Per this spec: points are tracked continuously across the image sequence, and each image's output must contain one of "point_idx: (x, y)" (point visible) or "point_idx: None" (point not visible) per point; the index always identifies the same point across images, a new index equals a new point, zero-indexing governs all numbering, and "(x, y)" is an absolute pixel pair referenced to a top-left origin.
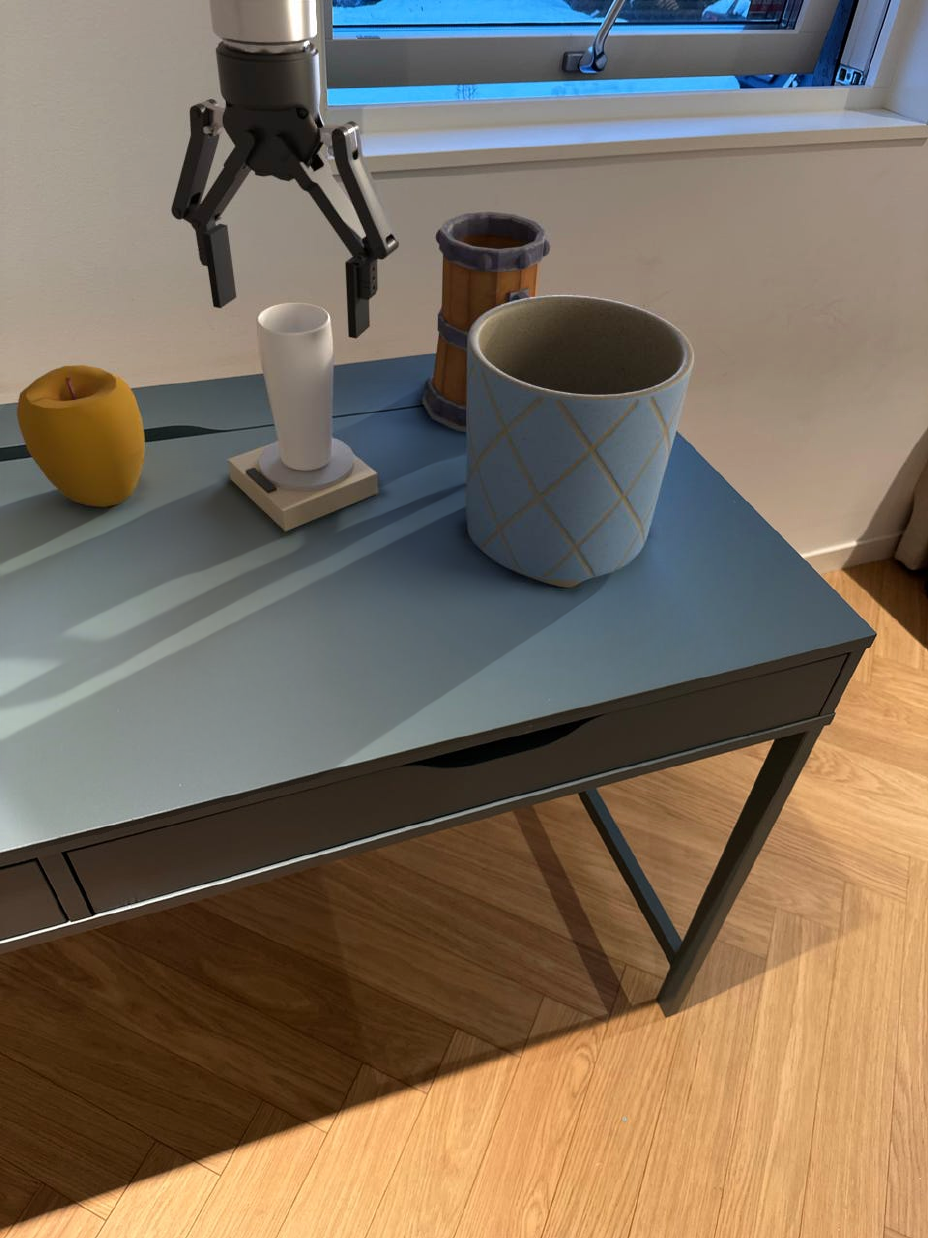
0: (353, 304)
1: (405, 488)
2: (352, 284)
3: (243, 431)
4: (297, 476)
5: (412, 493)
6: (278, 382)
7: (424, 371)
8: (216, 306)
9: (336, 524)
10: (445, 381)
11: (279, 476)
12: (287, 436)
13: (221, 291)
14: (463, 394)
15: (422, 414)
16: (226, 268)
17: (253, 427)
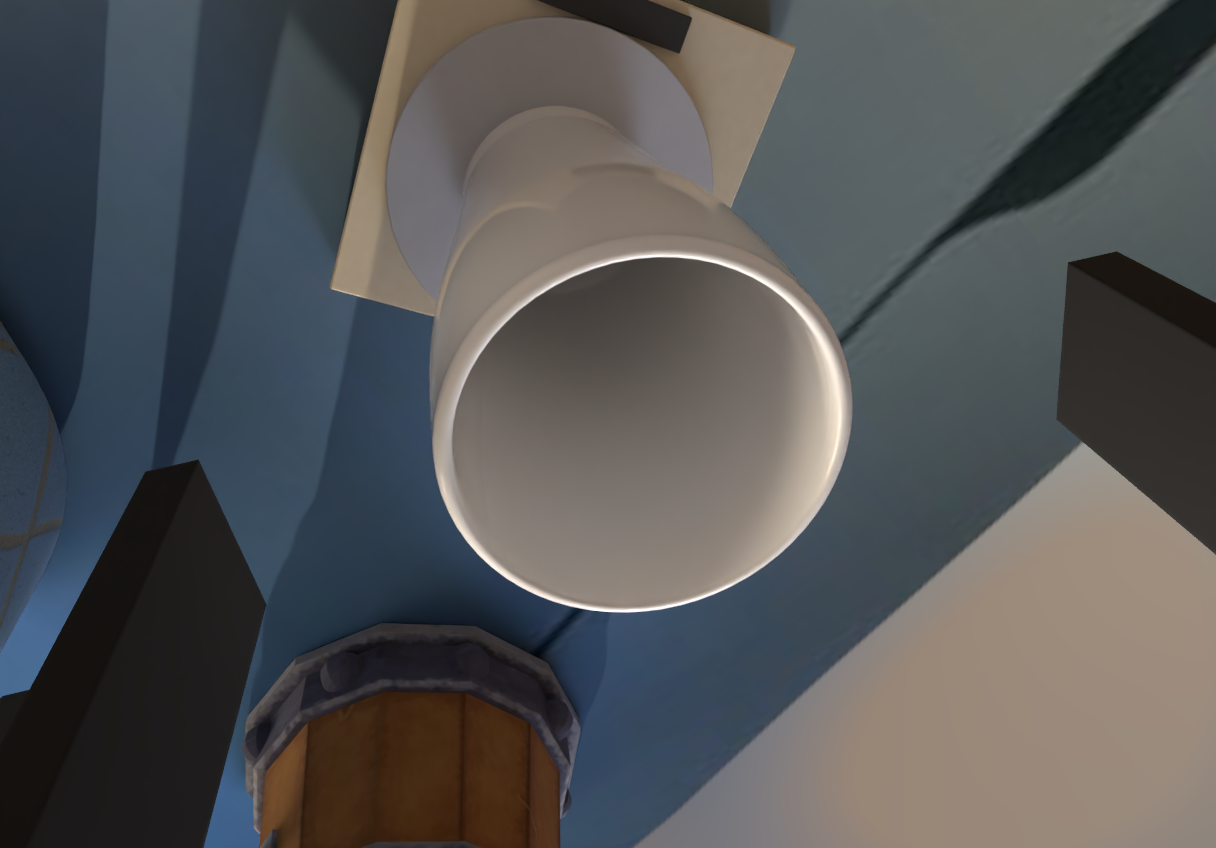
0: (80, 607)
1: (292, 332)
2: (29, 723)
3: (892, 270)
4: (507, 90)
5: (256, 325)
6: (583, 161)
7: (637, 760)
8: (1097, 258)
9: (320, 46)
10: (454, 732)
11: (558, 51)
12: (555, 125)
13: (1122, 329)
14: (379, 719)
15: (511, 625)
16: (1191, 464)
17: (878, 304)
